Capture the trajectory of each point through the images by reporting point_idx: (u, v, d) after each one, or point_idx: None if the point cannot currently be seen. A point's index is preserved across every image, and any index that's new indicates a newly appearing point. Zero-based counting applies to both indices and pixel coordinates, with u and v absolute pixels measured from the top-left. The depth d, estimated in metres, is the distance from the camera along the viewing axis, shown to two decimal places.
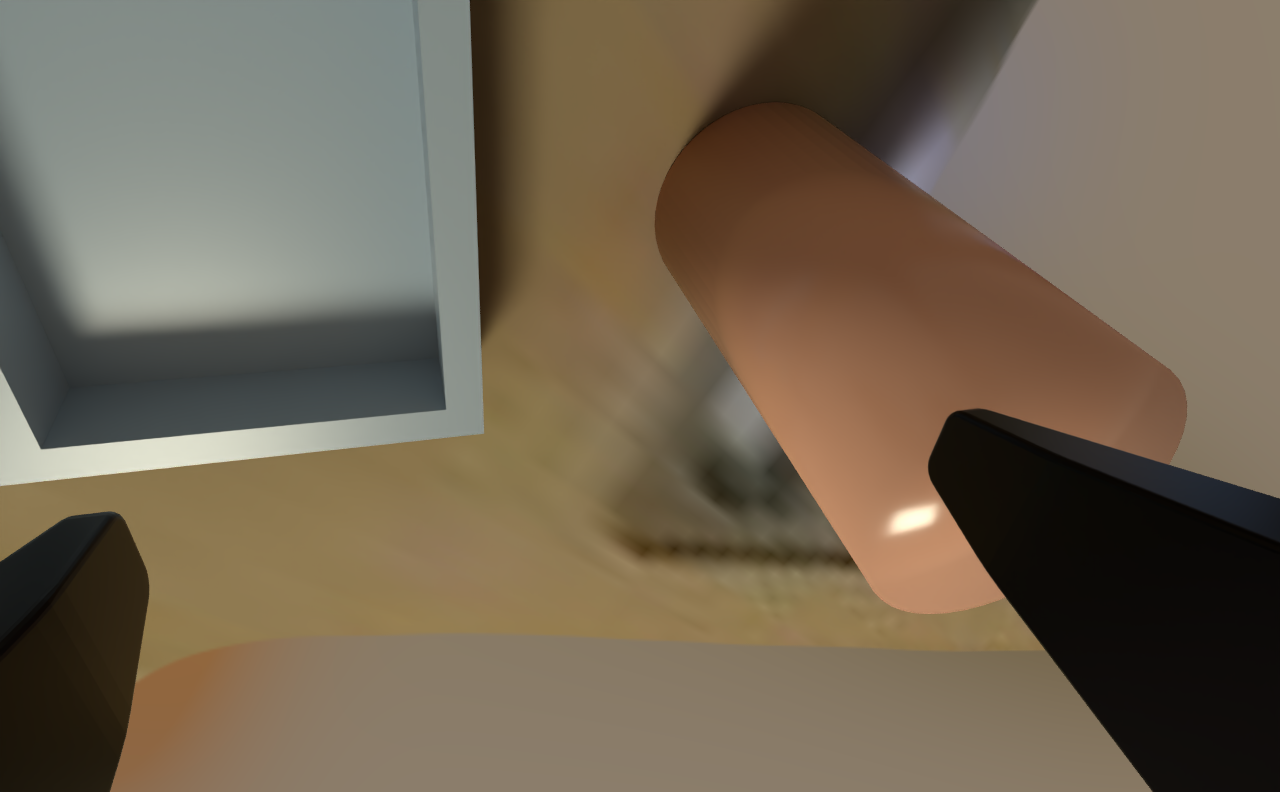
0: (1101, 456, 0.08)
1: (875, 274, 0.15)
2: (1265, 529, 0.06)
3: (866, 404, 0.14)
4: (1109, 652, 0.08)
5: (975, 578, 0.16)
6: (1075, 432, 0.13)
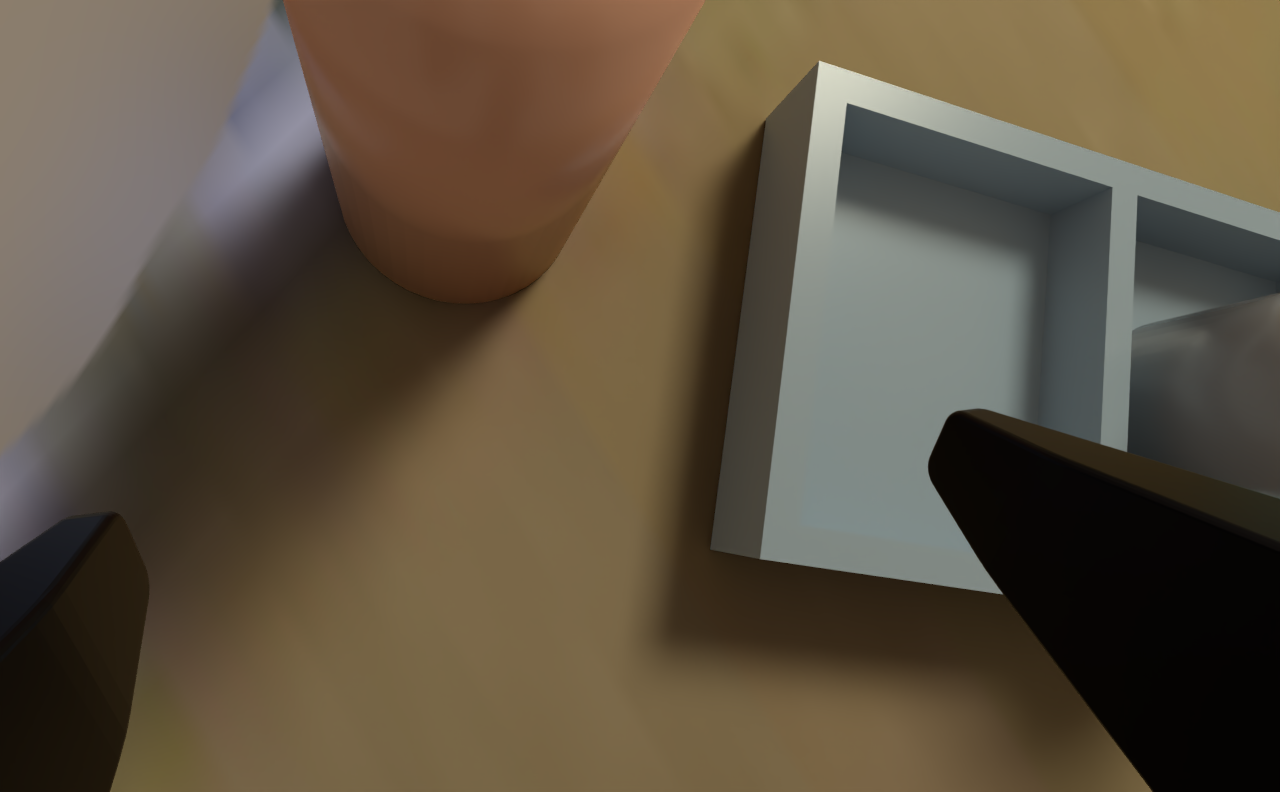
0: (1102, 456, 0.08)
1: (562, 168, 0.13)
2: (1265, 529, 0.06)
3: (676, 46, 0.12)
4: (1109, 652, 0.08)
5: None
6: None
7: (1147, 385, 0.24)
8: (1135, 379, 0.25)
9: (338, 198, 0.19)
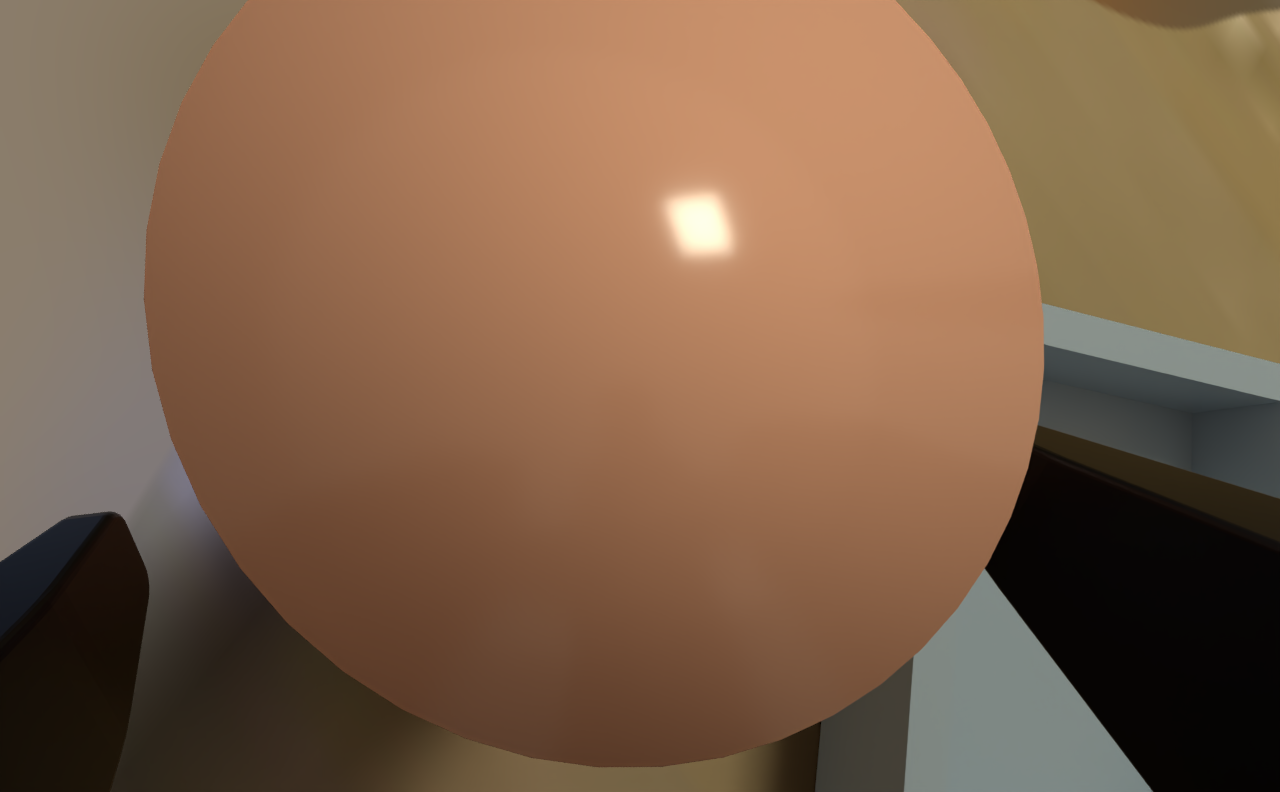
0: (1101, 456, 0.08)
1: None
2: (1265, 529, 0.06)
3: None
4: (1109, 652, 0.08)
5: (722, 16, 0.06)
6: (595, 503, 0.05)
7: None
8: None
9: None
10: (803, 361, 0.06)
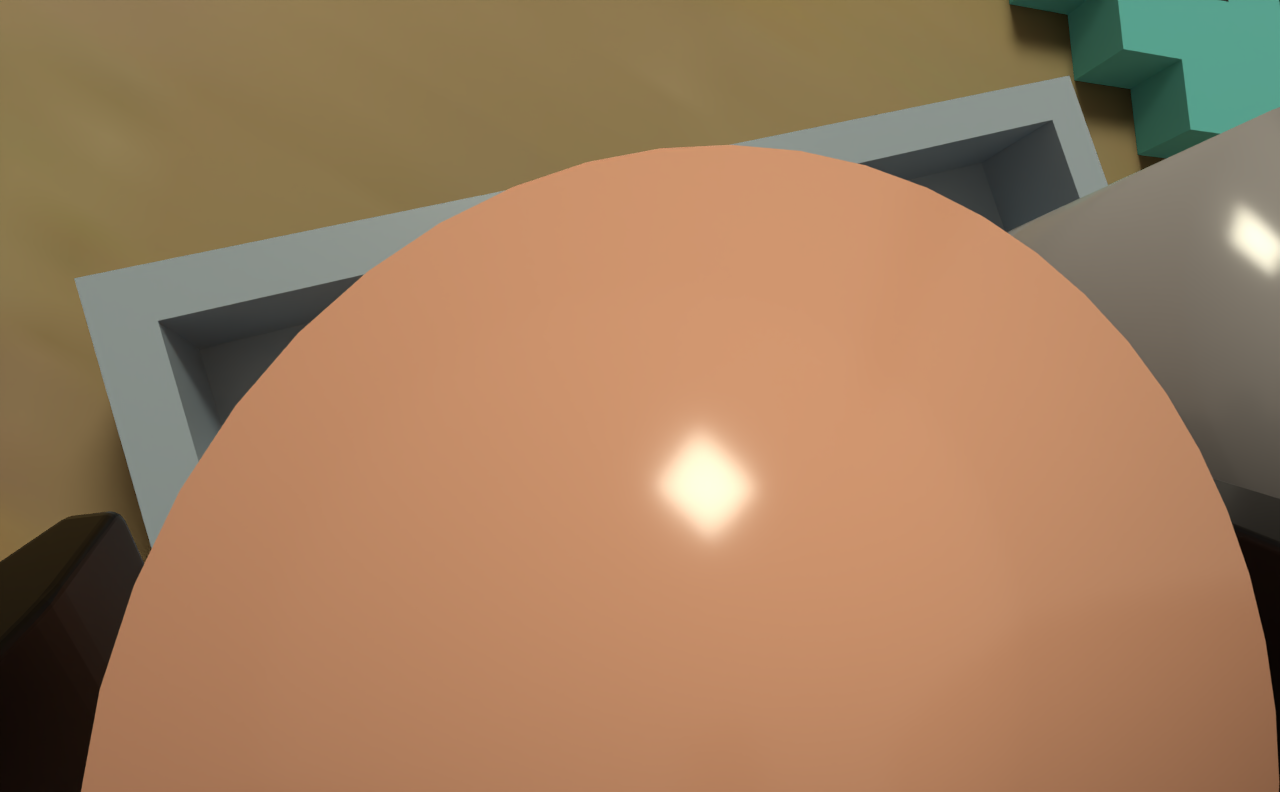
0: None
1: None
2: (1265, 529, 0.06)
3: None
4: None
5: (871, 345, 0.04)
6: None
7: None
8: None
9: None
10: None
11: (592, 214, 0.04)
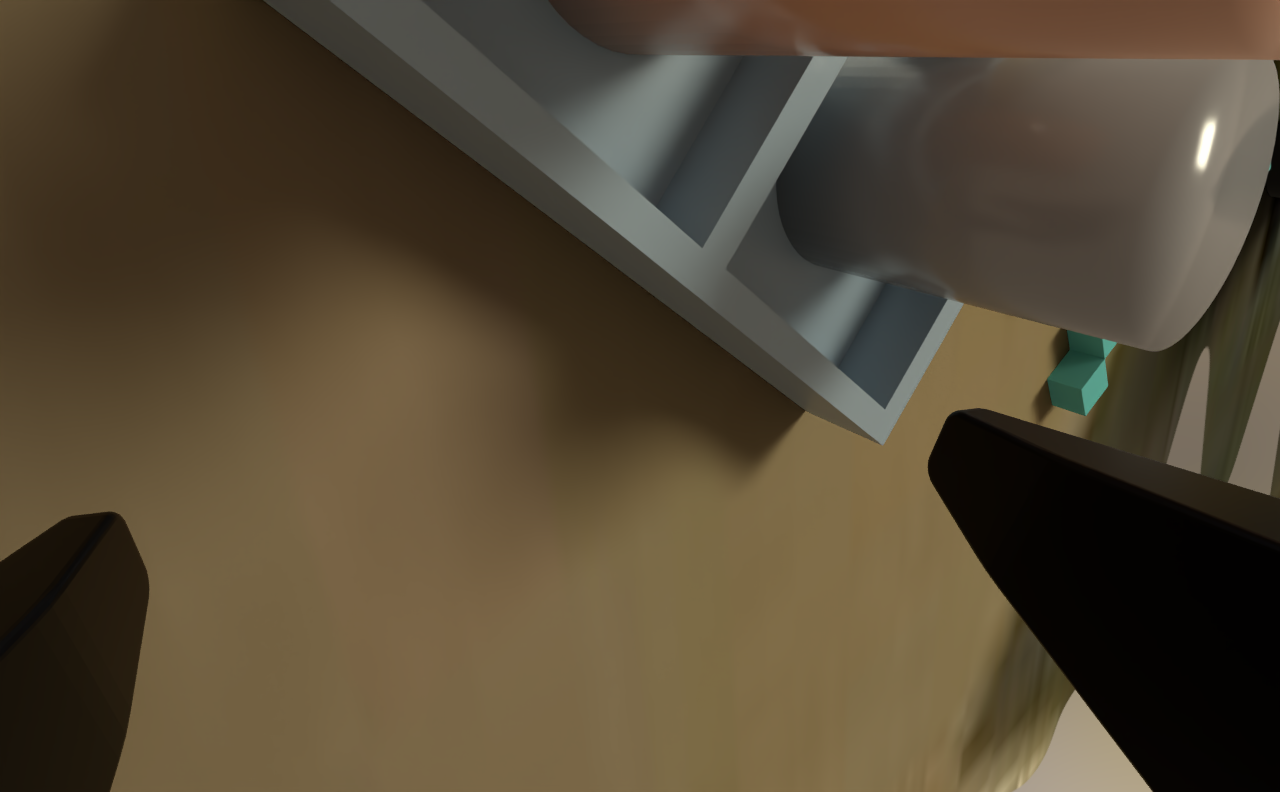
0: (1102, 456, 0.08)
1: (907, 18, 0.11)
2: (1265, 529, 0.06)
3: (1130, 58, 0.10)
4: (1109, 652, 0.08)
5: None
6: None
7: (850, 96, 0.21)
8: (842, 87, 0.21)
9: None
10: None
11: None
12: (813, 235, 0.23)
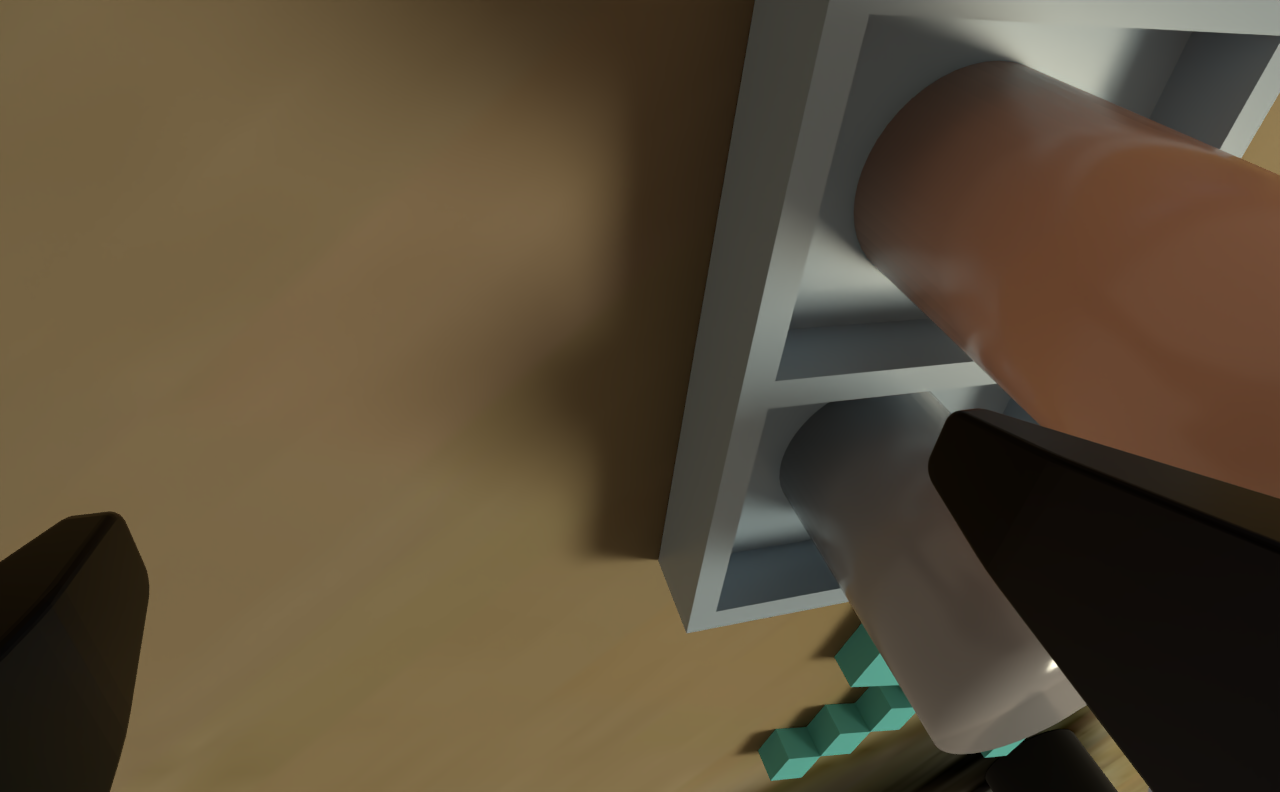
0: (1102, 456, 0.08)
1: (1079, 380, 0.15)
2: (1265, 529, 0.06)
3: None
4: (1109, 652, 0.08)
5: None
6: None
7: (918, 411, 0.25)
8: (917, 402, 0.26)
9: (1043, 80, 0.19)
10: None
11: None
12: (809, 458, 0.26)
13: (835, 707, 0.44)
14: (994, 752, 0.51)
